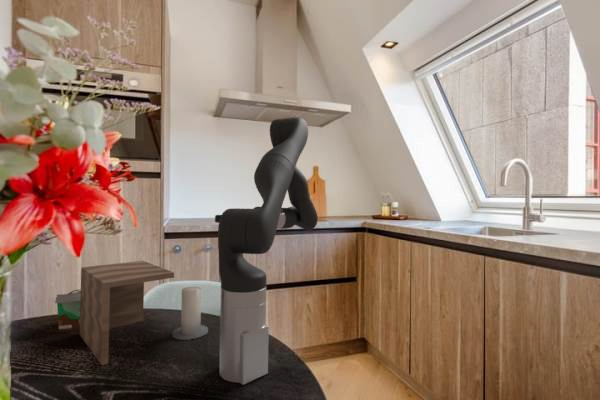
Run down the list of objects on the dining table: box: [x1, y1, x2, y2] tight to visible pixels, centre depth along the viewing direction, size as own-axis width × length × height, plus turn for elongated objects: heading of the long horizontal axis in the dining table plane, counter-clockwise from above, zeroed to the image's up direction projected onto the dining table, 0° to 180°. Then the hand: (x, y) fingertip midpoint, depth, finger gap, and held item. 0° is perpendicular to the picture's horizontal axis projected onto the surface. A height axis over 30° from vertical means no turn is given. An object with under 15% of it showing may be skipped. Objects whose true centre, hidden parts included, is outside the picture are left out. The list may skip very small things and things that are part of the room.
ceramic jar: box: [180, 286, 202, 335], centre depth 83 cm, size 5×5×11 cm
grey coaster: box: [171, 324, 209, 341], centre depth 83 cm, size 9×9×1 cm
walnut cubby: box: [79, 260, 175, 366], centre depth 79 cm, size 21×15×17 cm
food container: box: [54, 288, 81, 333], centre depth 87 cm, size 12×6×10 cm, turn 179°
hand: (223, 219), depth 89 cm, fingers open, 8 cm apart
